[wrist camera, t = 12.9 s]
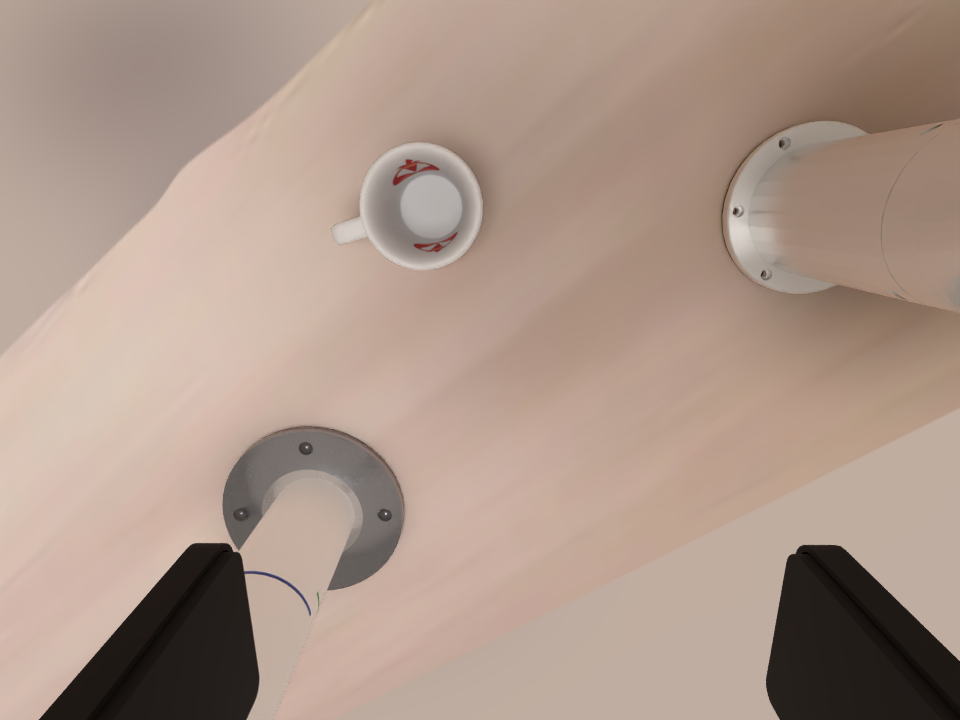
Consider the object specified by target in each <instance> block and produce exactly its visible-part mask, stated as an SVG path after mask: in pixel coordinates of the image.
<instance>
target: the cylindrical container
mask: <svg viewBox="0 0 960 720" xmlns="http://www.w3.org/2000/svg"><path fill="white" fill-rule="evenodd" d="M354 517H355V516H354V509H353V506H352V503H351V501H350V499H349V498H348V496H347V495H346V494H345V493H344V491H342V490H341V489H340V488H339V487H338V486H336V485H334V484H332V483H331V482H328V481H325V480H322V479H316V478H305V479H300V480H297V481H294V482H292V483H290V484H289V485H287V486H286V487H285V488H284V489H283V490H282V491H281V492H280V493H279V495H278V496H277V498H276V499H275V500H274V502H273V503H272V505H271V506H270V508H269V509H268V510H267V512H266V513H265V515H264V516H263V517H262V519H261V520H260V522H259V523H258V525H257V526H256V527H255V529H254V530H253V532H252V533H251V534H250V536H249V537H248V539H247V540H246V542H245V543H244V544H243V546H242V547H241V549H240V550H239V551H238V553H240V555H241V556H242V560H243V567H244V574H245V581H246V587H247V594H248V601H249V608H250V615H251V621H252V628H253V635H254V642H255V648H256V655H257V662H258V669H259V677H260V681H259V689H258V694H257V697H256V700H255V703H254V705H253V707H252V709H251V711H250V713H249V715H248V718H247V720H274V719H275V716H276V714H277V711H278V709H279V706H280V704H281V702H282V699H283V697H284V694H285V692H286V689H287V687H288V684H289V682H290V679H291V677H292V675H293V672H294V670H295V667H296V665H297V662H298V660H299V657H300V655H301V653H302V650H303V648H304V645H305V643H306V640H307V638H308V635H309V633H310V631H311V628H312V626H313V623H314V621H315V618H316V616H317V613H318V611H319V609H320V606H321V604H322V601H323V599H324V596H325V594H326V591H327V589H328V586H329V584H330V582H331V579H332V577H333V574H334V572H335V569H336V567H337V564H338V562H339V559H340V557H341V555H342V552H343V550H344V547H345V545H346V542H347V540H348V537H349V535H350V532H351V530H352V527H353V524H354Z"/></svg>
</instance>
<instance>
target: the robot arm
mask: <svg viewBox="0 0 960 720" xmlns="http://www.w3.org/2000/svg"><path fill="white" fill-rule="evenodd" d="M779 141H780V142H781V144H782V145H781V147H779ZM734 208H735V209H736V213H735V214H734V215H733V209H734ZM723 234H724V238H725V243H726V246H727V249H728V251H729V253H730V255H731V257H732V260H733V261H734V262H735V264H736V265H737V266H738V268H739V269H740V270H741V271H742V272H743V273H744V274H745V275H746V276H747V277H749V278H750V279H751V280H752V281H754V282H756V283H758V284H760V285H761V286H763V287H766V288H769V289H772V290H774V291H778V292H784V293H789V294H808V293H813V292H819V291H823V290H825V289H828V288H831V287H834V286H836V285H841V286H846V287H850V288H854V289H858V290H862V291H867V292H871V293H875V294H879V295H884V296H888V297H892V298H896V299H900V300H905V301H909V302H913V303H917V304H922V305H926V306H930V307H934V308H940V309H945V310H949V311H953V312H958V313H960V119H954V120H948V121H943V122H937V123H931V124H926V125H920V126H914V127H909V128H903V129H897V130H891V131H886V132H880V133H874V134H868V133H867V132H865V131H863V130H862V129H860V128H858V127H856V126H853V125H850V124H847V123H844V122H837V121H827V120H825V121H816V122H808V123H804V124H800V125H796V126H793V127H790V128H788V129H786V130H783V131H781V132H778V133H777V134H775V135H774V136H772V137H770V138H769V139H767V140H766V141H764V142H763V143H762V144H761V145H759V146H758V147H757V148H756V149H755V150H754V151H753V152H752V153H751V154H750V155H749V156H748V157H747V159H746V160H745V161H744V162H743V164H742V165H741V166H740V167H739V169H738V171H737V173H736V174H735V176H734V178H733V180H732V182H731V184H730V187H729V189H728V192H727V195H726V198H725V203H724V209H723ZM762 271H764V274H763V275H762V276H761V273H762ZM259 681H260V677H259V669H258V662H257V655H256V648H255V642H254V635H253V628H252V621H251V615H250V608H249V601H248V594H247V587H246V581H245V574H244V567H243V560H242V556H241V555H240V553H238V552H233V550H232V548H231V546H230V545H229V544H227V543H195V544H192V545H190V546H189V547H188V548H187V549H186V550H185V552H184V553H183V554H182V555H181V556H180V557H179V558H178V560H177V561H176V562H175V563H174V564H173V565H172V567H171V568H170V569H169V570H168V571H167V572H166V573H165V575H164V576H163V577H162V578H161V579H160V580H159V582H158V583H157V584H156V585H155V586H154V587H153V588H152V590H151V591H150V592H149V593H148V594H147V595H146V597H145V598H144V599H143V600H142V601H141V602H140V603H139V605H138V606H137V607H136V608H135V609H134V610H133V612H132V613H131V614H130V615H129V616H128V617H127V619H126V620H125V621H124V622H123V623H122V624H121V625H120V627H119V628H118V629H117V630H116V631H115V632H114V634H113V635H112V636H111V637H110V638H109V639H108V640H107V642H106V643H105V644H104V645H103V646H102V647H101V649H100V650H99V651H98V652H97V653H96V654H95V655H94V657H93V658H92V659H91V660H90V661H89V662H88V664H87V665H86V666H85V667H84V668H83V669H82V671H81V672H80V673H79V674H78V675H77V676H76V677H75V679H74V680H73V681H72V682H71V683H70V684H69V686H68V687H67V688H66V689H65V690H64V691H63V692H62V694H61V695H60V696H59V697H58V698H57V699H56V701H55V702H54V703H53V704H52V705H51V706H50V707H49V709H48V710H47V711H46V712H45V713H44V714H43V716H42V717H41V718H40V719H39V720H247V718H248V715H249V713H250V711H251V709H252V707H253V705H254V703H255V700H256V697H257V694H258V689H259ZM766 688H767V692H768V696H769V700H770V702H771V704H772V706H773V708H774V710H775V711H776V714H777V715H778V717H779V719H780V720H960V661H959V660H958V659H957V658H956V657H955V656H954V655H953V654H952V653H951V652H950V651H949V650H948V649H947V648H946V647H944V646H943V645H942V644H941V643H940V642H939V641H938V640H937V639H936V638H935V637H934V636H933V635H932V634H931V633H930V632H929V631H928V630H927V629H926V628H925V627H924V626H923V625H922V624H921V623H920V622H919V621H918V620H917V619H916V618H915V617H914V616H913V615H912V614H911V613H910V612H909V611H908V610H907V609H906V608H904V607H903V606H902V605H901V604H900V603H899V602H898V601H897V600H896V599H895V598H894V597H893V596H892V595H891V594H890V593H889V592H888V591H887V590H886V589H885V588H884V587H883V586H882V585H881V584H880V583H879V582H878V581H877V580H876V579H875V578H874V577H873V576H872V575H871V574H870V573H869V572H867V571H866V570H865V569H864V568H863V567H862V566H861V565H860V564H859V563H858V562H857V561H856V560H855V559H854V558H853V557H852V556H851V555H850V554H849V553H848V552H847V551H846V550H844V549H843V548H842V547H841V546H837V545H803V546H800V547H799V548H798V550H797V552H796V554H792V555H790V556H789V557H788V559H787V563H786V568H785V574H784V580H783V586H782V591H781V597H780V603H779V608H778V614H777V620H776V626H775V631H774V637H773V643H772V649H771V655H770V660H769V665H768V671H767V677H766Z"/></svg>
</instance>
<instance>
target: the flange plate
mask: <svg viewBox="0 0 960 720" xmlns="http://www.w3.org/2000/svg"><path fill="white" fill-rule="evenodd" d="M305 478H316V479H322V480H325V481H328V482H331V483H332V484H334V485H336V486H338V487H339V488H340V489H341V490H342V491H344V493H345V494H346V495H347V496H348V498H349V499H350V501H351V503H352V506H353V509H354V516H355V517H354V524H353V527H352V530H351V532H350V535H349V537H348V540H347V542H346V545H345V547H344V550H343V552H342V555H341V557H340V559H339V562H338V564H337V567H336V569H335V572H334V574H333V577H332V579H331V582H330V584H329V586H328V589H327V590H335V589H341V588H345V587H349V586H352V585H355V584H357V583H359V582H362V581H363V580H365V579H367V578H369V577H370V576H372V575H373V574H374V573H376V572H377V571H378V570H379V569H380V568H381V567H382V566H383V565H384V564H385V563H386V562H387V561H388V559H389V558H390V557H391V555H392V554H393V552H394V550H395V548H396V546H397V543H398V540H399V537H400V534H401V530H402V526H403V520H404V503H403V497H402V493H401V489H400V486H399V484H398V482H397V479H396V477H395V476H394V474H393V472H392V471H391V469H390V467H389V466H388V465H387V464H386V462H385V461H384V460H383V459H382V458H381V457H380V456H379V455H378V454H377V453H376V452H375V451H374V450H372V449H371V448H370V447H369V446H367V445H366V444H364V443H363V442H361V441H359V440H358V439H356V438H354V437H352V436H349V435H347V434H345V433H342V432H339V431H335V430H332V429H327V428H321V427H296V428H291V429H286V430H282V431H279V432H276V433H274V434H272V435H269V436H267V437H265V438H264V439H262V440H261V441H259V442H258V443H256V444H255V445H254V446H253V447H251V448H250V449H249V450H248V451H247V452H246V453H245V454H244V455H243V456H242V457H241V459H240V460H239V461H238V462H237V463H236V465H235V466H234V468H233V469H232V471H231V473H230V475H229V477H228V480H227V482H226V485H225V489H224V494H223V515H224V519H225V524H226V527H227V530H228V532H229V535H230V537H231V539H232V541H233V542H234V544H235V546H236V547H237V549H238V550H240V549H241V547H242V546H243V544H244V543H245V542H246V540H247V539H248V537H249V536H250V534H251V533H252V532H253V530H254V529H255V527H256V526H257V525H258V523H259V522H260V520H261V519H262V517H263V516H264V515H265V513H266V512H267V510H268V509H269V508H270V506H271V505H272V503H273V502H274V500H275V499H276V498H277V496H278V495H279V493H280V492H281V491H282V490H283V489H284V488H285V487H286V486H287V485H289V484H290V483H292V482H294V481H297V480H300V479H305Z"/></svg>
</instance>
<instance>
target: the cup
mask: <svg viewBox="0 0 960 720" xmlns="http://www.w3.org/2000/svg"><path fill="white" fill-rule="evenodd" d="M359 210H360V216H358V217H355V218H352V219H349V220H346V221H343V222H340V223H338V224H335V225H333V227H332V228H331V232H332V236H333V238H334V241H335V242H336V243H337V244H338V245H344V244H347V243H351V242H354V241H358V240H361V239H365V238H369V240H370V242H371V243H372V244H373V246H374V247H375V248H376V249H377V250H378V251H379V252H380V253H381V254H382V255H383V256H384V257H385V258H387V259H388V260H390V261H391V262H393V263H395V264H397V265H399V266H402V267H404V268H408V269H413V270H434V269H438V268H442V267H444V266H447V265H449V264H451V263H453V262H454V261H456V260H457V259H459V258H460V257H461V256H462V255H463V254H464V253H465V252H466V251H467V250H468V249H469V248H470V247H471V245H472V244H473V242H474V241H475V239H476V237H477V235H478V232H479V230H480V226H481V223H482V217H483V199H482V194H481V189H480V186H479V184H478V181H477V179H476V177H475V175H474V173H473V172H472V170H471V169H470V168H469V166H468V165H467V164H466V163H465V162H464V161H463V160H462V159H461V158H460V157H459V156H458V155H457V154H455V153H454V152H452V151H450V150H449V149H447V148H445V147H442V146H440V145H437V144H433V143H427V142H412V143H406V144H402V145H399V146H397V147H394V148H393V149H391V150H389V151H387V152H386V153H384V154H383V155H382V156H381V157H379V158H378V159H377V161H376V162H375V163H374V164H373V165H372V166H371V168H370V169H369V171H368V173H367V174H366V177H365V179H364V181H363V184H362V187H361V192H360V199H359Z"/></svg>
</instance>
